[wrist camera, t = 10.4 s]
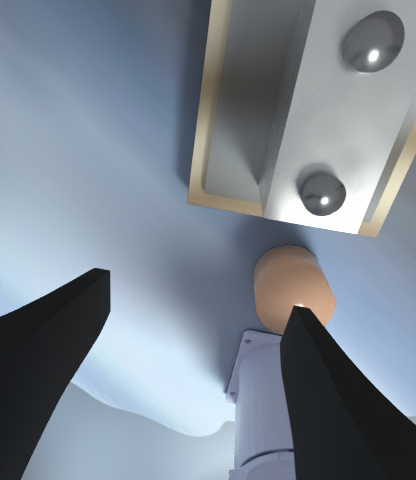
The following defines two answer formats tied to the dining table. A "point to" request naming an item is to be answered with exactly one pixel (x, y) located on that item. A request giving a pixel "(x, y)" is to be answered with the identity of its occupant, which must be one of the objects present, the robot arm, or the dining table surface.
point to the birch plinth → (261, 111)
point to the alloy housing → (338, 110)
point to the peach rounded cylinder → (290, 286)
